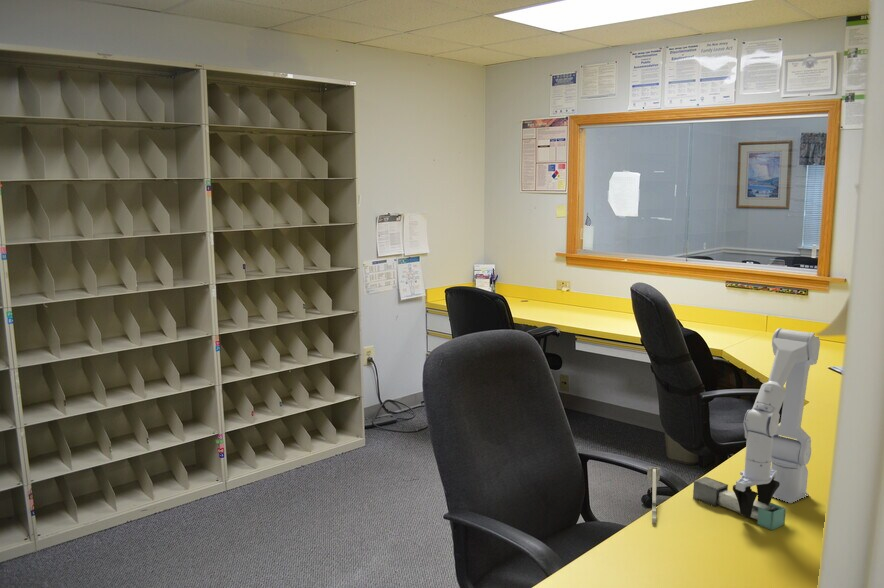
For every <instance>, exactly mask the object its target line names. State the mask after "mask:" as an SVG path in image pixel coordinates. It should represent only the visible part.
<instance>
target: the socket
mask: <svg viewBox="0 0 884 588" xmlns="http://www.w3.org/2000/svg"><path fill="white" fill-rule="evenodd" d="M770 506H772V507H775V508H778V510H776V511H774V512H770V511H768V510H765V509H763V508H759V509H758V520H757V522H756V523H757V526H761V527H763V528H765V529H768V530H770V531H774V530H776V529H778V528H781V527H783V526H785V525H786V524H785V522H786V511H787V508H786V507H783V506H781V505H778V504H776V503H772V502H770ZM784 524H785V525H784ZM782 525H783V526H782Z"/></svg>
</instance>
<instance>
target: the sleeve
mask: <svg viewBox="0 0 884 588" xmlns="http://www.w3.org/2000/svg"><path fill="white" fill-rule="evenodd" d="M723 489H727V490H729V484H727V483H723V482H721V481H718V480H716V479H713V478H710V477H707V476H704V477H701V478H698V479H695V480H693V491H692V499H694V498H695V499H694V500H696V499H697V501H699V500H700V502H701V501H702V503H704V504H706V505H709V506H711V505H712V507H713V508H716V506H717V507H719V506H720V505H719V504H717V494H718V491H721V490H723ZM718 505H719V506H718Z"/></svg>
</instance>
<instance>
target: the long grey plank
mask: <svg viewBox="0 0 884 588" xmlns="http://www.w3.org/2000/svg"><path fill="white" fill-rule="evenodd" d="M717 504H719V506H722V507H724V508H726V509H728V510H732V511H734V512H737V513H739V514H741V513H740V508H739V503H738V500H737V497H736V495H735V493H734V491H733V490H729V489H728V490H727V489H723V490H721V491H718V494H717ZM759 508H763V509H765V510H768V511H770V512H774V511H776V510H778V508H775V507H772V506H770V505H767V504H764V503H762V502H759V501H758V500H756V499H755V501H754V503H753V508H752V513H751V516H750V518H752V519H755V520H756V521H758V509H759Z"/></svg>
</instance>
